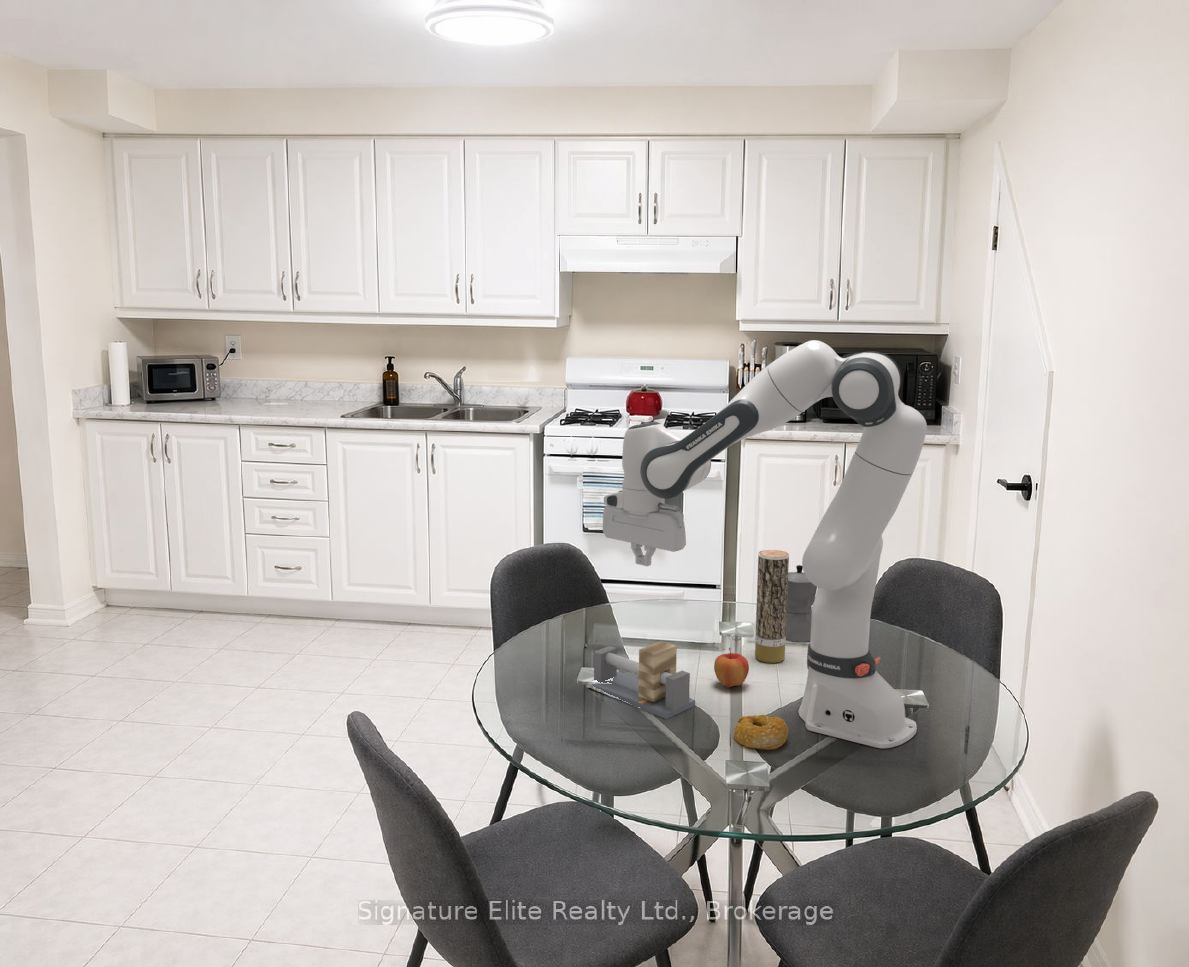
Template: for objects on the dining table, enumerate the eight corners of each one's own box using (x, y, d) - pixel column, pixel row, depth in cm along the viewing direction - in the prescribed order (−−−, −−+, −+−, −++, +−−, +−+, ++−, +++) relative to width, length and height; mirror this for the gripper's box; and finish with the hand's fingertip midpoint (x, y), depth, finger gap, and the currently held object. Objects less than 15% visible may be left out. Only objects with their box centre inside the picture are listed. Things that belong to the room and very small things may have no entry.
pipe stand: (695, 705, 194) (696, 670, 192) (666, 719, 187) (667, 682, 186) (616, 676, 209) (616, 643, 207) (587, 688, 202) (587, 654, 201)
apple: (721, 694, 199) (722, 658, 198) (708, 681, 206) (709, 646, 205) (753, 690, 201) (755, 654, 200) (739, 677, 208) (740, 642, 207)
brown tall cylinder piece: (783, 654, 222) (787, 550, 217) (786, 664, 216) (790, 558, 211) (753, 652, 223) (757, 549, 218) (755, 663, 216) (759, 557, 212)
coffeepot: (766, 639, 232) (769, 567, 229) (773, 626, 241) (775, 558, 237) (831, 646, 227) (834, 573, 224) (835, 634, 236) (839, 563, 232)
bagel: (779, 726, 185) (780, 703, 184) (794, 753, 174) (794, 729, 173) (728, 728, 184) (729, 705, 183) (740, 755, 173) (740, 731, 172)
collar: (675, 691, 195) (676, 645, 194) (653, 701, 191) (654, 654, 189) (660, 686, 198) (661, 640, 196) (638, 696, 193) (639, 649, 191)
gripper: (692, 504, 192) (692, 570, 195) (617, 491, 206) (617, 553, 209) (673, 509, 188) (672, 577, 190) (597, 496, 202) (598, 559, 204)
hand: (643, 564), depth 200 cm, fingers closed
